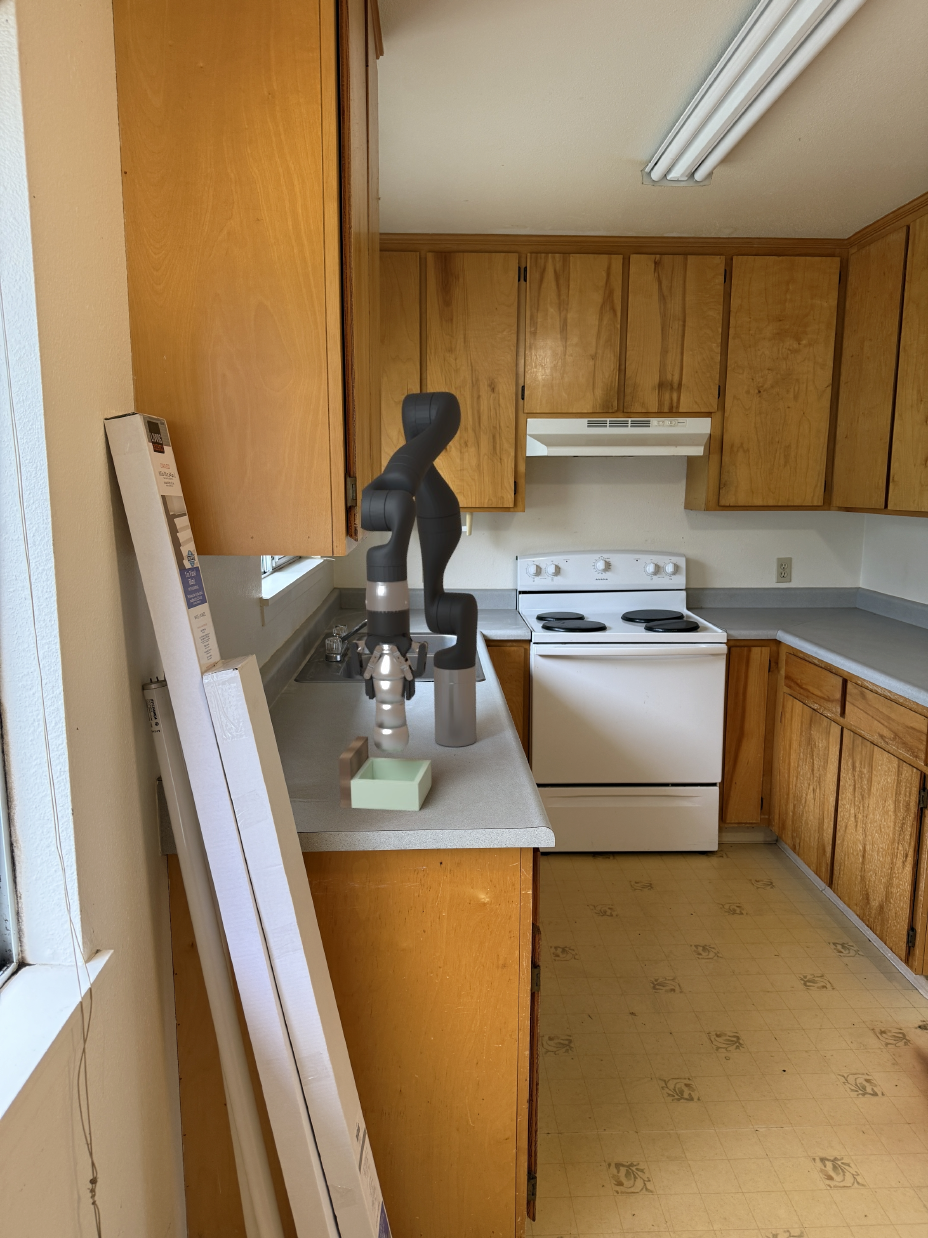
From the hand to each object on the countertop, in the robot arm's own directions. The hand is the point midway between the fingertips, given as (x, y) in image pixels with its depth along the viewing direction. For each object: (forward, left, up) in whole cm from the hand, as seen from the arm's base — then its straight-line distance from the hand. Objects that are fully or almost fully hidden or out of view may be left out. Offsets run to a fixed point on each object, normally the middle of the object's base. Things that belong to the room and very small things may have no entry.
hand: (390, 698), depth 145 cm
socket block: (0, 0, -18) cm, 18 cm away
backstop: (0, +4, -19) cm, 20 cm away
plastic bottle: (0, 0, -10) cm, 10 cm away
